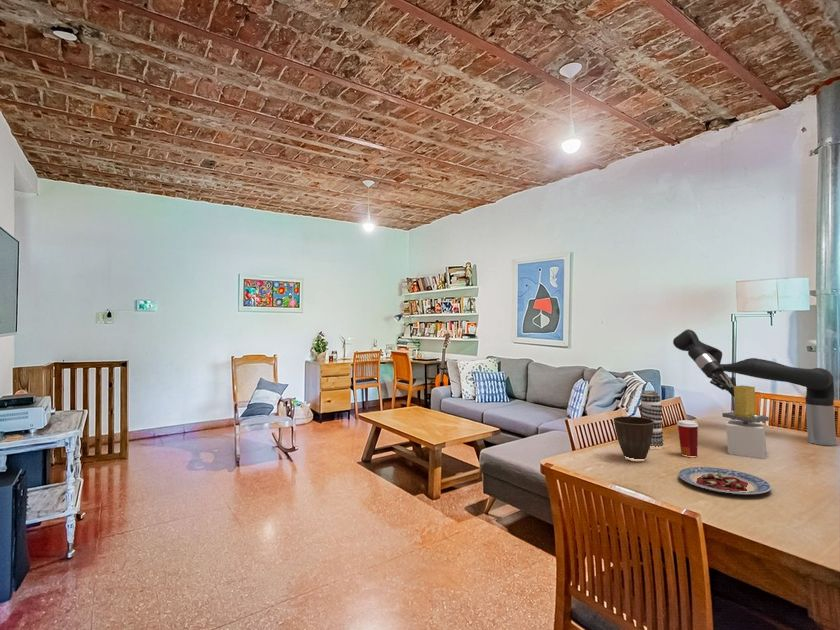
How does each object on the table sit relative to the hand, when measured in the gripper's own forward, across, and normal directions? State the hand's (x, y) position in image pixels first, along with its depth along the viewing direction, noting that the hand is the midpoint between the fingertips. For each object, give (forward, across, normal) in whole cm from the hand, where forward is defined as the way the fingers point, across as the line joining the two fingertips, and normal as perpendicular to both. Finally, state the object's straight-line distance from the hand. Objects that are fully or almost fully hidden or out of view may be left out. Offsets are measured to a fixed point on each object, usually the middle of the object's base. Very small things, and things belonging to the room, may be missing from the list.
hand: (737, 396), depth 184 cm
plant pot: (+12, +48, -22) cm, 54 cm away
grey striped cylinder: (+3, +27, -30) cm, 41 cm away
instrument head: (+8, 0, -4) cm, 9 cm away
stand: (+18, 0, -14) cm, 24 cm away
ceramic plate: (+35, +43, +1) cm, 56 cm away
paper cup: (+15, +25, -19) cm, 34 cm away
